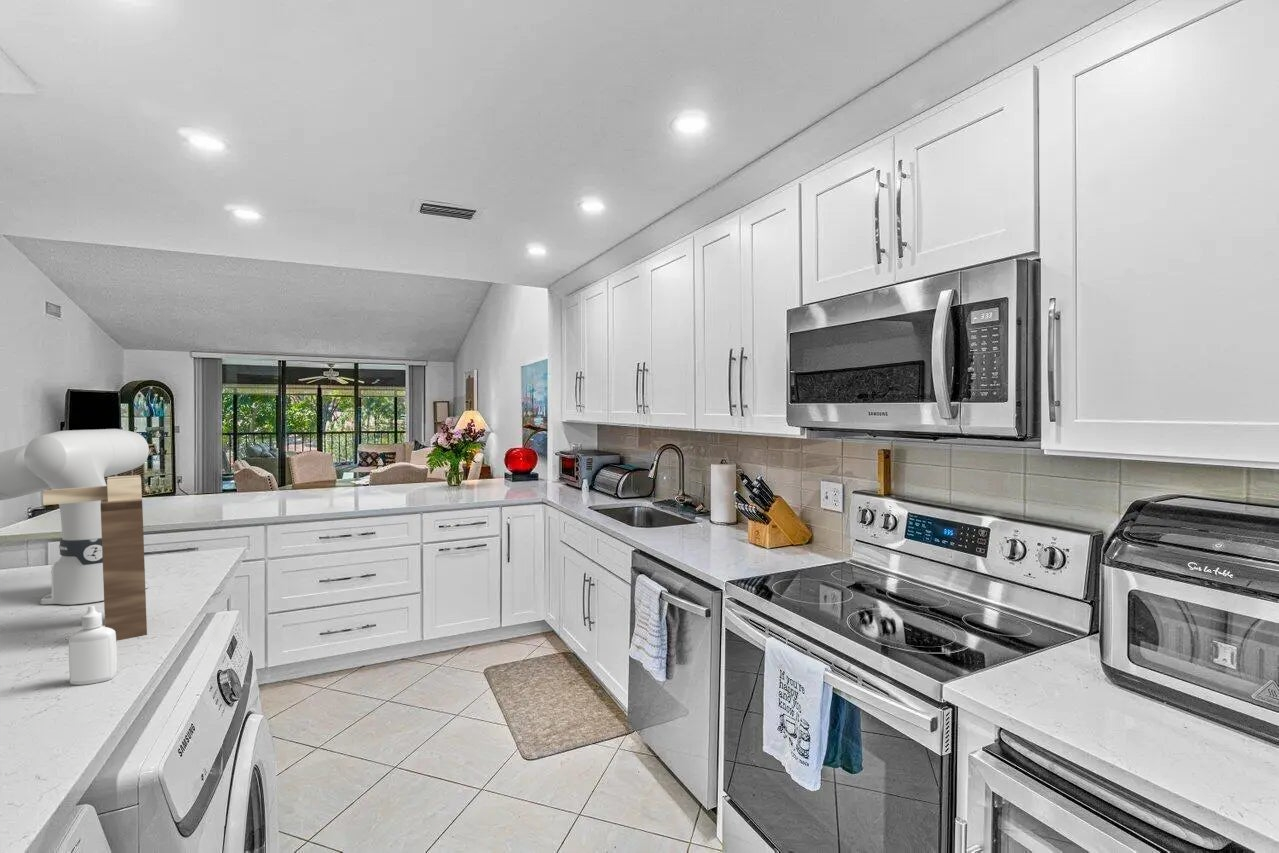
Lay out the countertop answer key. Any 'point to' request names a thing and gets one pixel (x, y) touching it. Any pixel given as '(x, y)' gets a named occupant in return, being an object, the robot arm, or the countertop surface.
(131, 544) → the walnut shelf
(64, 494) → the wooden mallet
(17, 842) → the countertop surface
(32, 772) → the countertop surface
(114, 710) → the countertop surface
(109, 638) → the eye dropper bottle
